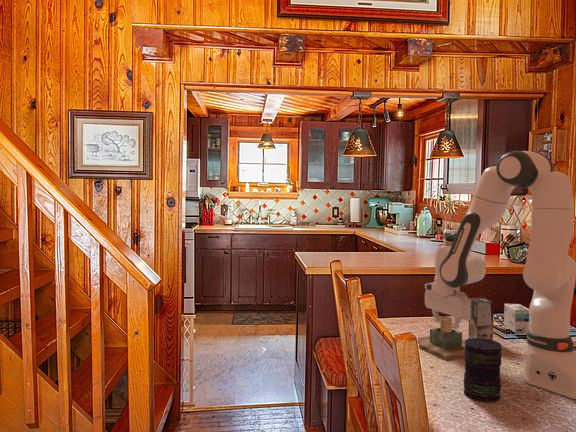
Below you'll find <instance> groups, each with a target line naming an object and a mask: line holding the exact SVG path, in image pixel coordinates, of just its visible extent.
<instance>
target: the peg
mask: <svg viewBox="0 0 576 432" xmlns="http://www.w3.org/2000/svg"><path fill="white" fill-rule="evenodd" d="M440 317H441V319H440V320H441V321H440V322H439V323H440V327H439V328H440V332H442V333H445V334H446V333H452V329H453V328H452V323H453V316H450V315H441V316H440Z"/></svg>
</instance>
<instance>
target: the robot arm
mask: <svg viewBox="0 0 576 432" xmlns="http://www.w3.org/2000/svg"><path fill="white" fill-rule="evenodd" d="M571 183H572V182H571V180H570V177H569V176H568V175H567V174H565V173H562V172H559V171H555V166H554V163H553V162H552V160H551V158H549V157H548V156H546V155H545V154H543V153H536V152H533V151H530V150H512V151H509V152H506V153H505V154H502V156H501V157H500V158H499V159H498V161H497V163H496V165H493V166H492V165H491V166H489V167H486V168H485V169H484V171H482V174H481V176H480V177H479V180H478V182H477V185H476V187H475V190H474V191H473V196H472V199H471V202H470V205H469V207H468V210H467V212H466V213H465V215H464V216H463V219H462V220H461V222H460V224H459V227H458V229H457V231H456V234H455V237H454V238H453V241H452V244H444V245H439V246H437V248H436V250H435V254H434V270H435V271H434V272H435V276H434V280H433V282H429V283H425V284H424V288H425V291H424V305H425V307H426V308H427V309H430V310H431V313H432V316H433V319H434V320H433V321H434V322H435V323H441V316H440V315H439V313H441V314H445V315H447V316H450V317H454V318H453V319H454V322H452V329H455V330H458V329H460V326H459V325H460V323H461V322H462V320H466V319H469V316H470V306H469V297H468V295H467V294H466V292H463V291H460V287H462V286H464V285H469V284H473V283H477V282H480V281H482V280H483V279H484V278H485V277H486V275H487V264H486V263H485V261H484V260H483V259H482V258H481V257H479V256H477V255H474V254H472V253H471V252H472V249H473V246H474V245H475V244H474V243H475V242H476V239H477V238H478V237H479V236H480V234H482V233H483V232H484V231H486V230H487V229H490V227H492V226H494V225H496V224H498V223H499V222H500V221H501V220H502V218H503V216H504V214H505V212H506V210H507V208H508V204H509V200H510V197H511V194H512V192H513V190H514V189H515V188H521V189H528V190H529V191H530V194H531V222H530V223H531V226H530V228H531V229H530V239H529V243H528V248H527V253H526V260H525V265H524V267H523V269H522V270H523V271H522V278H523V281H524V283H525V284H526V285H527V286H528V287H529V288H530V289H531V290H533V294H532V299H531V302H530V303H529V309H530V311H529V330H528V331H527V336H526V343H527V351H526V357H525V362H524V366H523V368H522V369H523V370H522V372H521V375H522V377H523V382H524V384H525V383H526V384H529V385H531V386H535V387H538V388H541V389H543V390H546V391H548V392H552V393H555V394H558V395H561V396H563V397H567V398H569V399H572V400H576V347H575V346H576V341H573V339H572V336H571V335H570V333H571V331H570V330H571V311H572V303H573V298H574V293H575V287H576V286H575V284H576V261H575V259H574V258H573V257H572V256H570V255H569V250H570V245H571V240H572V238H573V231H574V229H573V225H574V196H573V189H572V184H571Z"/></svg>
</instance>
